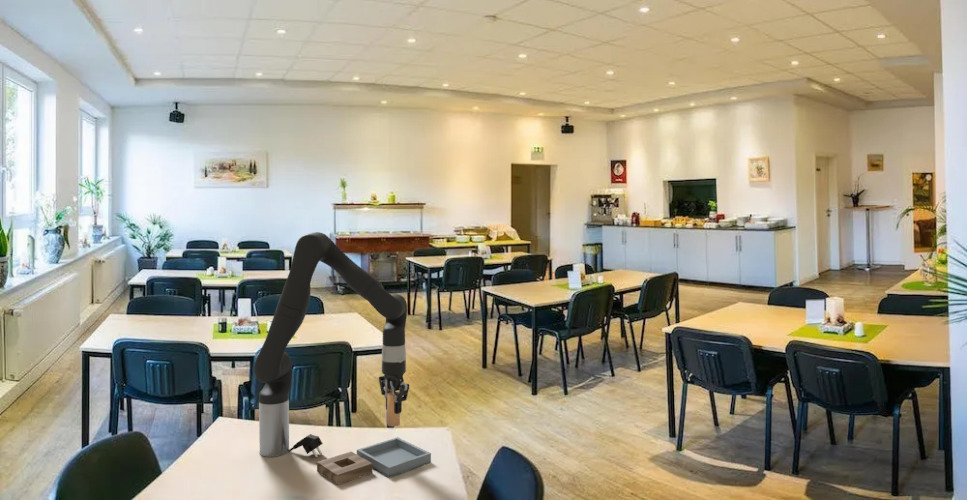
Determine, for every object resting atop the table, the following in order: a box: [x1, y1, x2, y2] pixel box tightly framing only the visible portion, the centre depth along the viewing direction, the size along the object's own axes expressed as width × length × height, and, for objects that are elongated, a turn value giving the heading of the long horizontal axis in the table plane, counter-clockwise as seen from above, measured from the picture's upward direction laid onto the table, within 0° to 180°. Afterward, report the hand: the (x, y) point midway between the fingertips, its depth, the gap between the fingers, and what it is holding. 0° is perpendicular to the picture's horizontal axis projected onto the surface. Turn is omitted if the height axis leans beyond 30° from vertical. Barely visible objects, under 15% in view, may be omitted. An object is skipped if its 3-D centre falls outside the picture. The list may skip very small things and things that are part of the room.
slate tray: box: [356, 436, 432, 478], centre depth 194 cm, size 18×16×3 cm
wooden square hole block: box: [316, 451, 373, 486], centre depth 185 cm, size 12×12×3 cm
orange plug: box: [386, 392, 401, 427], centre depth 193 cm, size 4×4×10 cm
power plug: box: [288, 433, 323, 459], centre depth 198 cm, size 6×8×12 cm
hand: (393, 411), depth 193 cm, fingers closed on orange plug, 4 cm apart
